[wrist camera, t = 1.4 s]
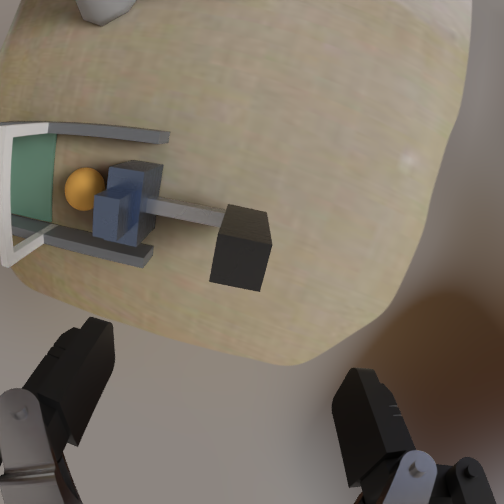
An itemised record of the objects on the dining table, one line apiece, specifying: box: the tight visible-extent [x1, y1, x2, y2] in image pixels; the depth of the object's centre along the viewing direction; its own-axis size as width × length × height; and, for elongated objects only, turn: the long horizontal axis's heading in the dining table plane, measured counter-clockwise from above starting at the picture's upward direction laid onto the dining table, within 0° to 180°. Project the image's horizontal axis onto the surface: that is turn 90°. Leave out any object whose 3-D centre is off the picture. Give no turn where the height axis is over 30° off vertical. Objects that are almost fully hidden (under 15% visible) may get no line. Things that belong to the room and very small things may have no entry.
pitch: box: [0, 121, 170, 268], centre depth 22 cm, size 12×20×9 cm, turn 77°
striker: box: [93, 160, 272, 292], centre depth 22 cm, size 6×12×11 cm, turn 77°
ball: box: [65, 168, 105, 211], centre depth 24 cm, size 4×4×4 cm
